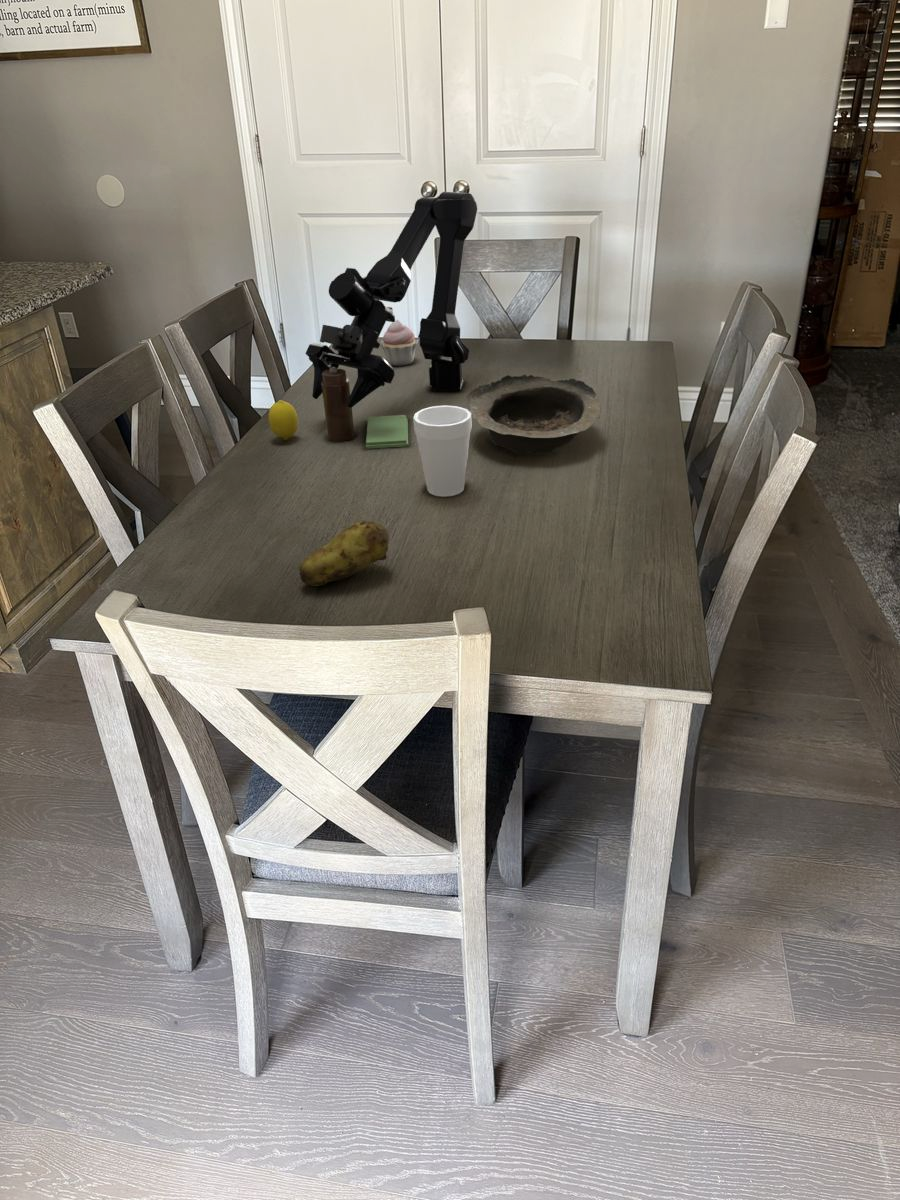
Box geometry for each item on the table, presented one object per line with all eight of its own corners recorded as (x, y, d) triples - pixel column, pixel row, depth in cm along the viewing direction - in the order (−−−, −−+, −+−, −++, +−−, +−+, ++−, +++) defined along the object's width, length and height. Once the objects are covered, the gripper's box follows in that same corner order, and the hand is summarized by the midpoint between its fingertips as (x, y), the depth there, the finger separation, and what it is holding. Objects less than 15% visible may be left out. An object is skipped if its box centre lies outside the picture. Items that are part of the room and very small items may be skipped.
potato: (303, 566, 127) (296, 517, 123) (391, 559, 128) (387, 510, 123) (300, 595, 120) (292, 545, 116) (393, 588, 121) (388, 538, 116)
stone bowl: (525, 405, 179) (529, 362, 174) (624, 444, 164) (631, 398, 159) (440, 439, 164) (440, 392, 159) (540, 484, 150) (544, 435, 145)
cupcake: (425, 357, 211) (422, 315, 206) (412, 369, 204) (409, 326, 198) (389, 355, 214) (386, 314, 208) (375, 366, 206) (371, 324, 201)
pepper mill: (354, 430, 172) (346, 361, 165) (355, 440, 168) (347, 370, 160) (327, 432, 172) (319, 363, 164) (328, 442, 167) (319, 372, 160)
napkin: (407, 419, 176) (407, 414, 175) (408, 446, 164) (407, 440, 163) (368, 422, 176) (367, 416, 175) (366, 448, 164) (365, 442, 163)
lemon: (303, 434, 171) (297, 395, 167) (296, 445, 167) (290, 405, 162) (276, 434, 172) (270, 395, 168) (268, 445, 167) (262, 405, 163)
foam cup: (480, 480, 150) (478, 408, 143) (463, 503, 142) (461, 428, 135) (429, 474, 153) (425, 403, 146) (410, 497, 145) (404, 423, 138)
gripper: (305, 300, 164) (271, 373, 163) (379, 312, 154) (342, 390, 153) (339, 331, 173) (306, 401, 172) (410, 345, 164) (376, 419, 162)
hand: (331, 402), depth 165 cm, fingers open, 9 cm apart
